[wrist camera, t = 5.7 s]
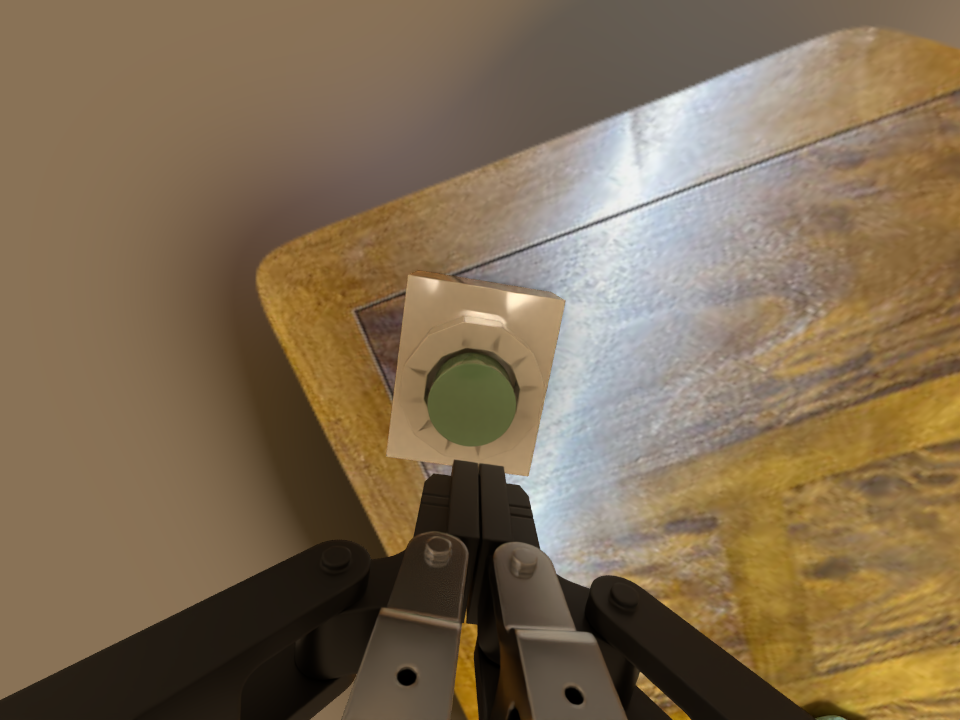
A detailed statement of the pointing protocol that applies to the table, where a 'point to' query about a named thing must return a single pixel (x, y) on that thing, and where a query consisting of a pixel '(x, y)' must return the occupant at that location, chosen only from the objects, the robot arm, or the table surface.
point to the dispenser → (472, 329)
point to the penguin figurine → (830, 718)
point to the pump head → (471, 400)
